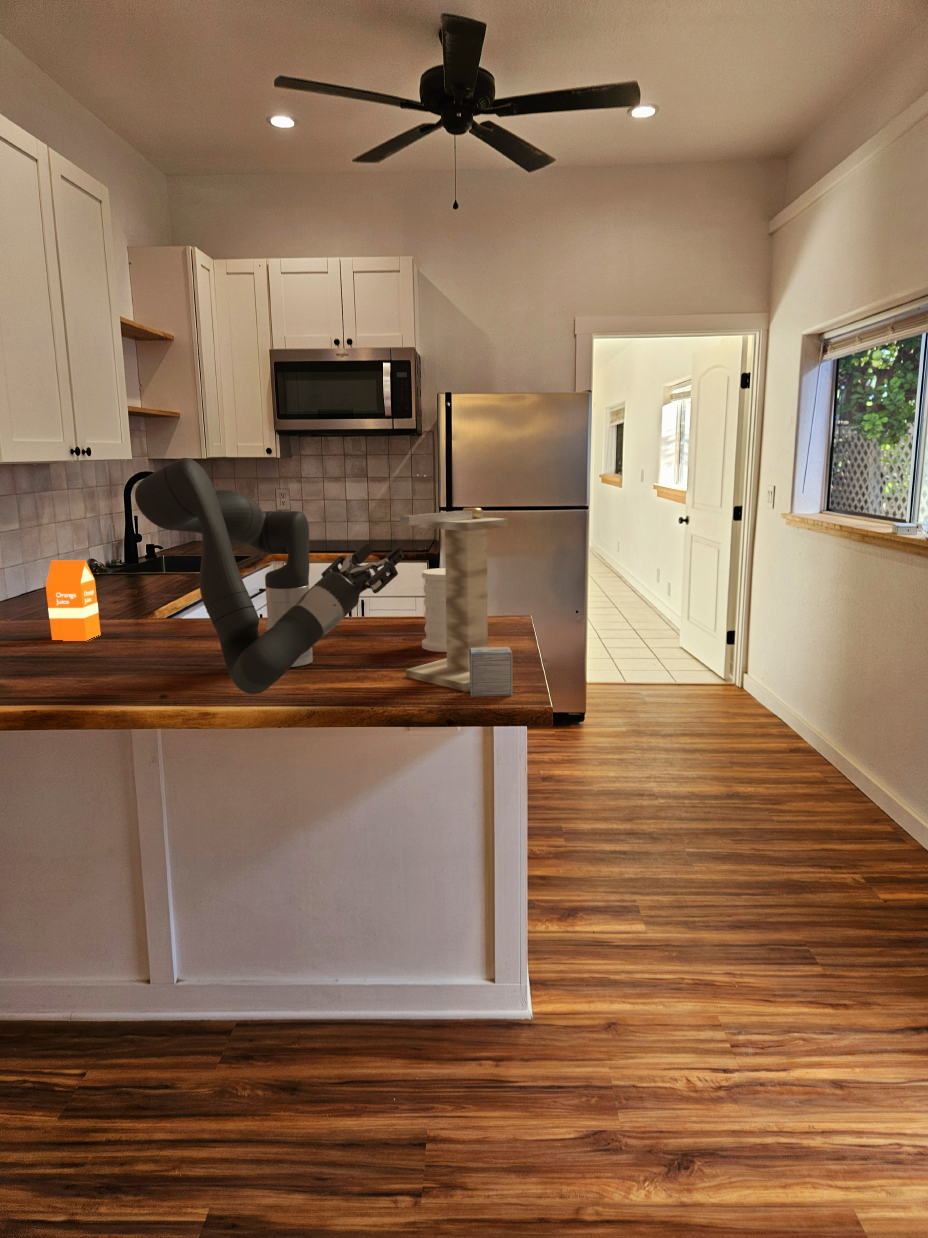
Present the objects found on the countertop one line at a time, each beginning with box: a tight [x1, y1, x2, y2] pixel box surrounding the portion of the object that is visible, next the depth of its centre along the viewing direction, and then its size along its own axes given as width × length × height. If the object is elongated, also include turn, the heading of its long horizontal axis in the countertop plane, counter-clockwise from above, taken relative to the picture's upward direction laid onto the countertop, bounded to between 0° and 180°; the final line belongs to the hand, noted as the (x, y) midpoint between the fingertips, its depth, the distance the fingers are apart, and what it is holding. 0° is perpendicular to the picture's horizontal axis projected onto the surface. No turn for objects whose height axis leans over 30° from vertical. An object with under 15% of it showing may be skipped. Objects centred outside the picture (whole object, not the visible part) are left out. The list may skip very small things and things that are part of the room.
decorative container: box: [421, 567, 447, 653], centre depth 189 cm, size 12×12×18 cm
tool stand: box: [405, 516, 510, 692], centre depth 162 cm, size 16×15×32 cm
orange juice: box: [45, 559, 101, 642], centre depth 202 cm, size 8×9×20 cm
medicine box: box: [469, 646, 513, 698], centre depth 152 cm, size 8×4×9 cm, turn 94°
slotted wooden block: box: [399, 507, 484, 526], centre depth 155 cm, size 4×21×2 cm, turn 138°
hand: (384, 549), depth 145 cm, fingers open, 8 cm apart
